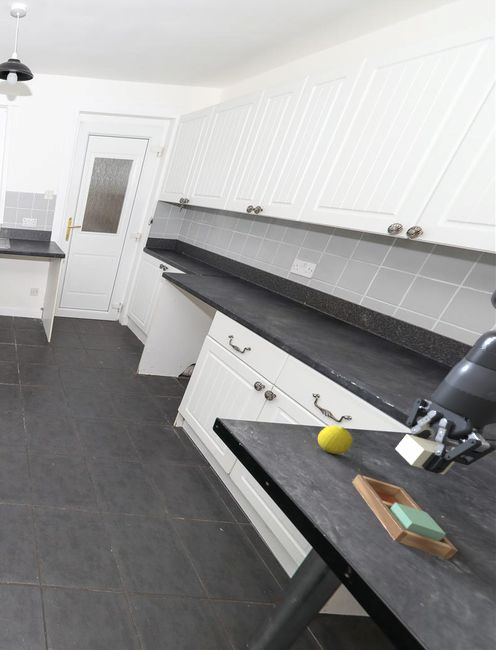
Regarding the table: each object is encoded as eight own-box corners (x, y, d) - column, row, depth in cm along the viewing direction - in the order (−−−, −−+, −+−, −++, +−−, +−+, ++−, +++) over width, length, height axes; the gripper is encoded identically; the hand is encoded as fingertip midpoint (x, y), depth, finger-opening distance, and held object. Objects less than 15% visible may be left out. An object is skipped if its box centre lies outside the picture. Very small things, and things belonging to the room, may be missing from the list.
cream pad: (425, 457, 66) (438, 442, 64) (443, 475, 62) (457, 459, 60) (394, 448, 67) (406, 433, 66) (411, 465, 63) (424, 449, 62)
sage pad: (414, 526, 65) (427, 512, 63) (432, 548, 61) (446, 534, 59) (383, 515, 66) (395, 502, 64) (399, 536, 62) (412, 522, 61)
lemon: (346, 464, 79) (365, 439, 76) (318, 456, 81) (335, 431, 78) (333, 448, 84) (350, 423, 81) (307, 440, 86) (322, 416, 82)
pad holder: (394, 498, 71) (402, 487, 70) (447, 561, 59) (458, 550, 58) (350, 483, 74) (357, 473, 72) (392, 542, 62) (402, 531, 60)
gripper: (556, 421, 50) (479, 498, 57) (473, 375, 63) (418, 443, 69) (486, 405, 53) (420, 480, 60) (420, 363, 65) (371, 430, 72)
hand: (419, 460), depth 64 cm, fingers closed on cream pad, 4 cm apart
